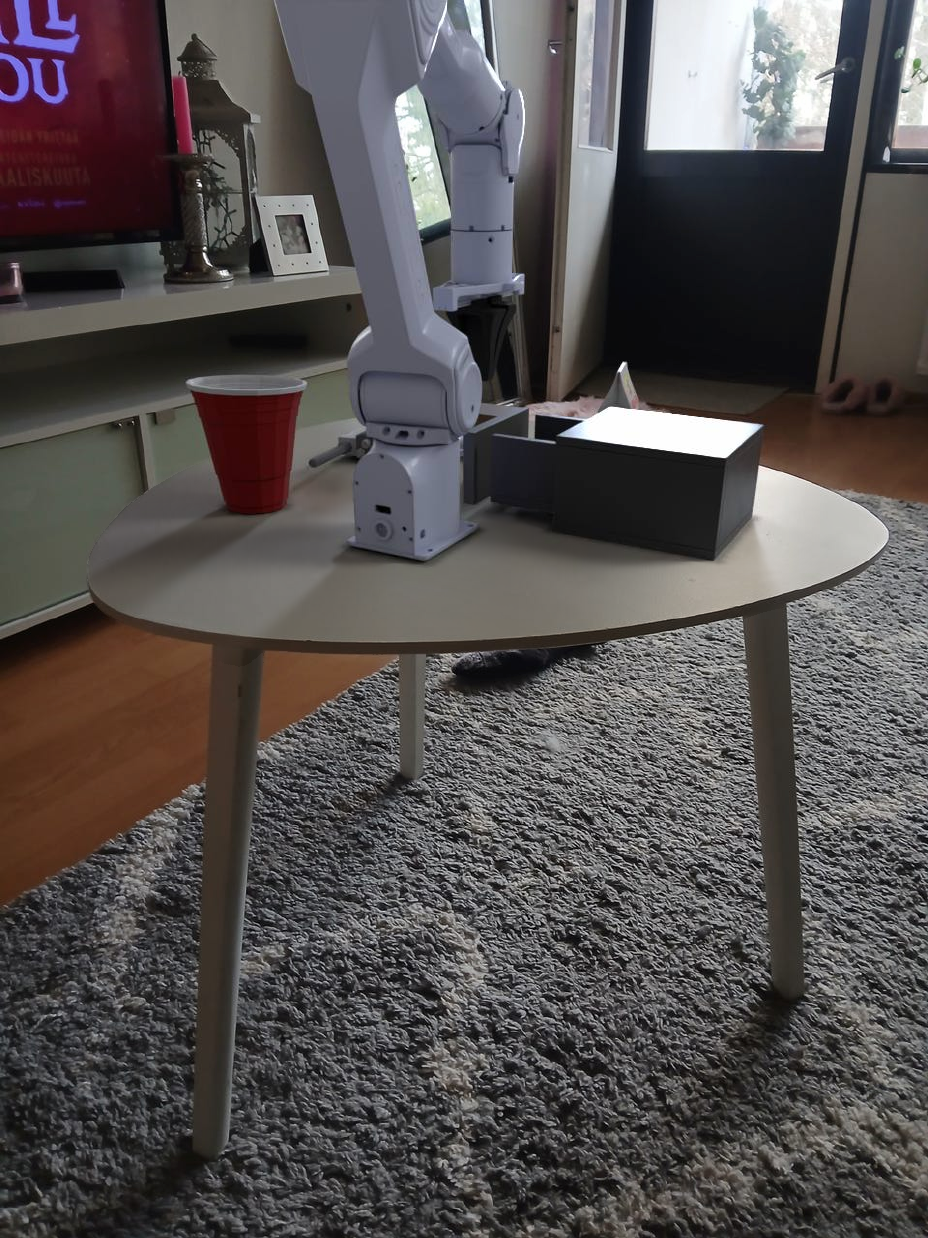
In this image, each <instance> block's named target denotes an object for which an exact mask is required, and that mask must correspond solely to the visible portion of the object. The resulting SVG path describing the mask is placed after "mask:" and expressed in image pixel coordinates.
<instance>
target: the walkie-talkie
mask: <svg viewBox="0 0 928 1238" xmlns="http://www.w3.org/2000/svg"><path fill="white" fill-rule="evenodd" d="M373 440H374V438H373V437H367V436H366V427H360V428H356V429H354V430H352V431H350V432H348V433H346V434H342V435H340V436H338V438H337V442H338V443H337V445H336V446H335V447H332V448H330V449H328V450H327V451H324V452H322V453H320V454H319V455H316V456H315V457H312V458H310V459H309V460H308V466H309V467H310V468H313V469H316V468H318V467H320V466H323V465H324V464H326V463H328V462H330V461H332V460H333V459H336V458H338V457H339V456H342V455H345V456H355V457H356V458H357V459H359V460H360V459H361V458H362V457H363V456H364V455H366V454H367V453H368V452H369V451H370V449H371V447H372V445H373Z"/></svg>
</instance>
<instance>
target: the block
mask: <svg viewBox="0 0 928 1238" xmlns="http://www.w3.org/2000/svg"><path fill="white" fill-rule="evenodd" d="M518 407H519V406H511V405H502V404H494V403H488V402H487V403H485V402H481V407H480V411H479V415H478V418H477V421H476V423H475V425H474V426H473V427H475V426H477V425H479V424H481V423H484V422H486V421H488V420H491V419H493V418H495V417H497V416H500V415H502V414H504V413H506V412H509V411H511V410H513V409H515V408H518ZM462 436H463V435H462Z"/></svg>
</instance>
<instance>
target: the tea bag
mask: <svg viewBox="0 0 928 1238" xmlns="http://www.w3.org/2000/svg"><path fill="white" fill-rule="evenodd" d="M609 407H613V408H622V409H631V410H639V397H638V394H637V391H636V389H635V386H634V383H633V381H632V379H631V375H630V373H629V369H628V362H627V361H622V363H621V364H620V367H618V370H617V371H616V373H615V378H614V380H613V382H612V384H611V387H610V389H609V390H608V392H607V394H606V396H605V397H604V399H603V401H602V403H601V404H600V406H599V408H598V409H597V414H598V413H600V412H602V411H604V410H606V409H608V408H609Z"/></svg>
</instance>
